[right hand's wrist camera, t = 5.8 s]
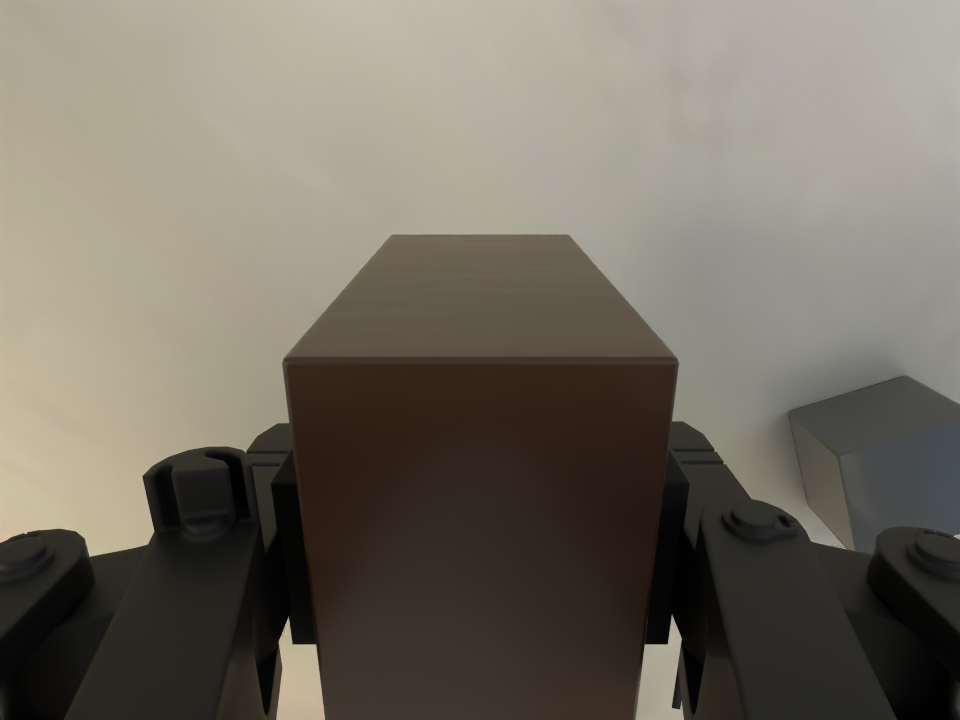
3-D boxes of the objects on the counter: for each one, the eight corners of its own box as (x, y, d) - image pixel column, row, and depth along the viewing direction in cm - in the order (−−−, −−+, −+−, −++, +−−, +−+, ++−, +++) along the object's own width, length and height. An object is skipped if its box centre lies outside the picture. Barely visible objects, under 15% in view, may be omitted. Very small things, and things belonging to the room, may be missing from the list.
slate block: (807, 506, 28) (858, 563, 24) (786, 411, 26) (837, 456, 22) (920, 473, 27) (991, 526, 23) (907, 374, 25) (979, 414, 22)
